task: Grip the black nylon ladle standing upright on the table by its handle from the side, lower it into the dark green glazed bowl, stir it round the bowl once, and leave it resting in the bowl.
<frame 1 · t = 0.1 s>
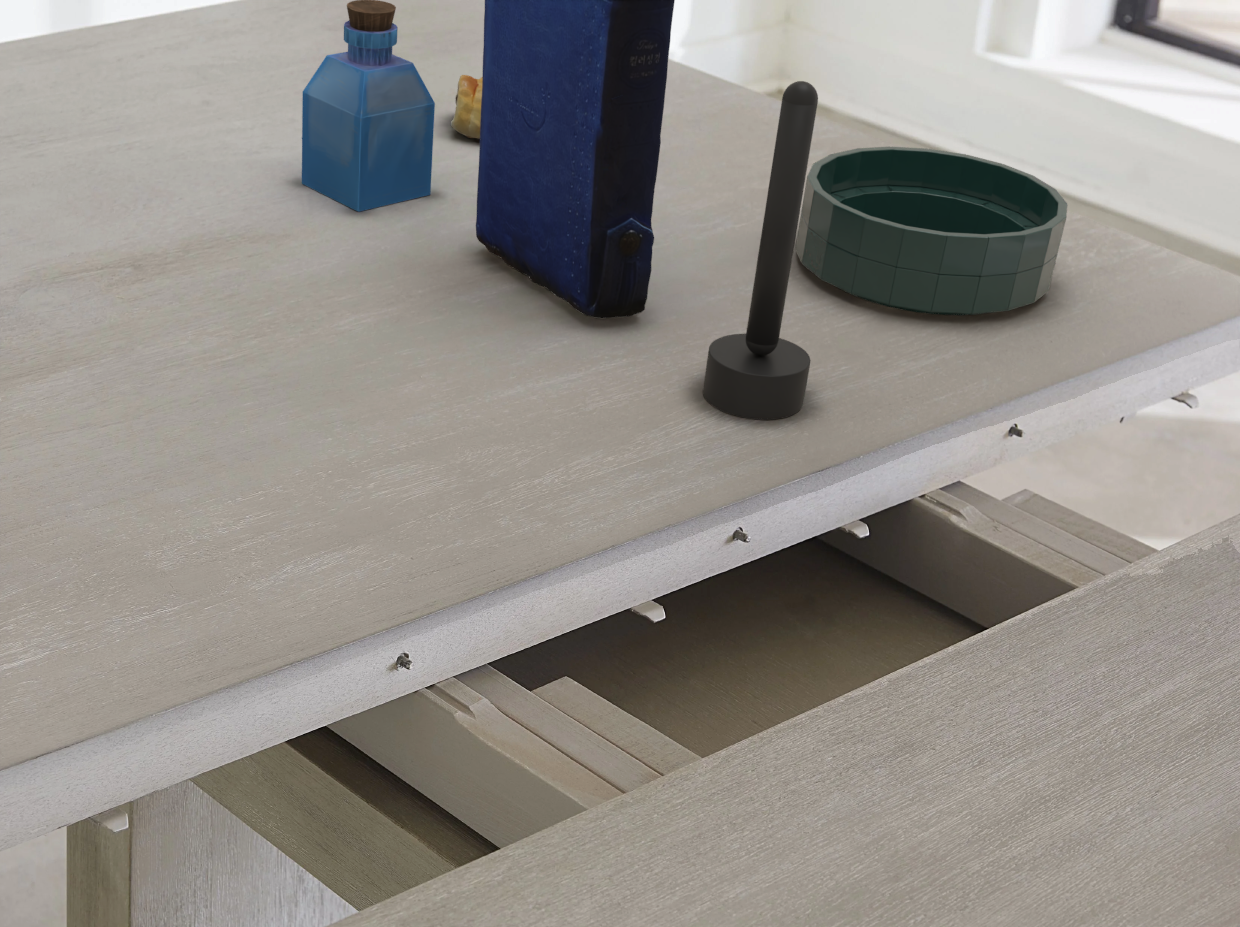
bowl: (920, 272, 123), on the table
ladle: (752, 397, 106), on the table
book: (556, 286, 117), on the table
pastry: (504, 133, 141), on the table
perfume bottle: (365, 191, 129), on the table
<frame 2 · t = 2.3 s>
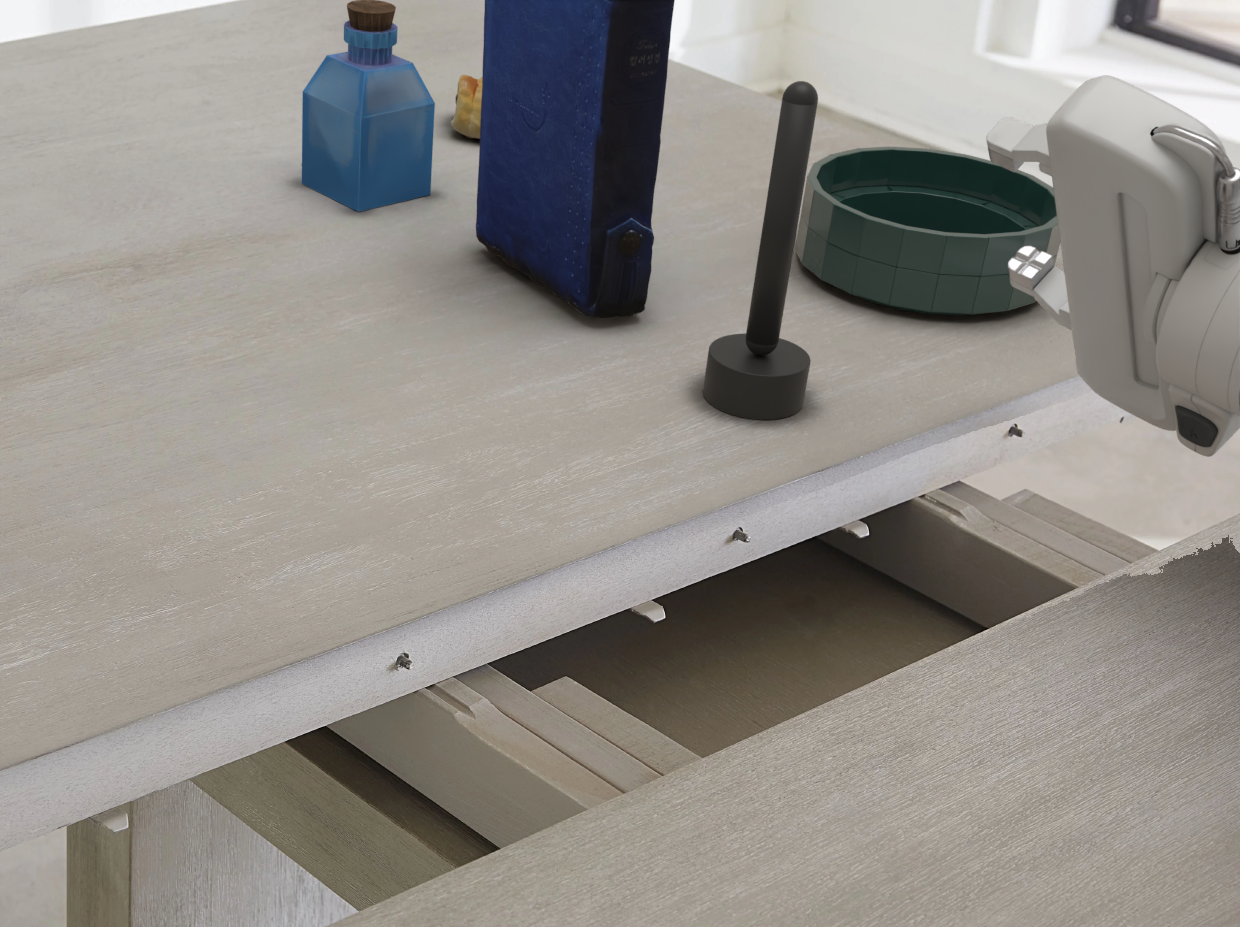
hand: (1005, 202, 97), 13 cm above the table, tool horizontal, fingers open, 8 cm apart
nothing on the table moved.
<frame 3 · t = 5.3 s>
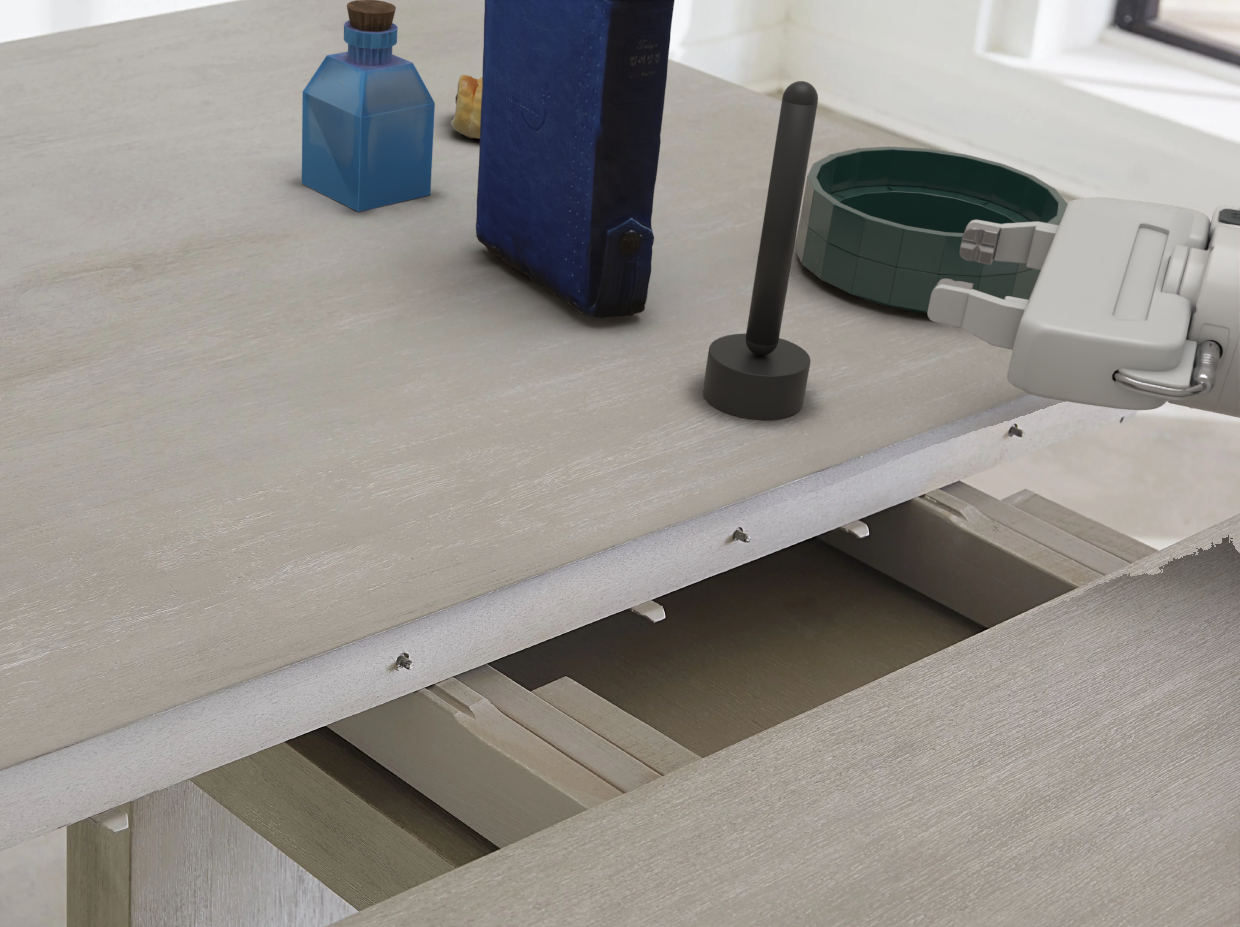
hand: (947, 267, 97), 10 cm above the table, tool horizontal, fingers open, 8 cm apart
nothing on the table moved.
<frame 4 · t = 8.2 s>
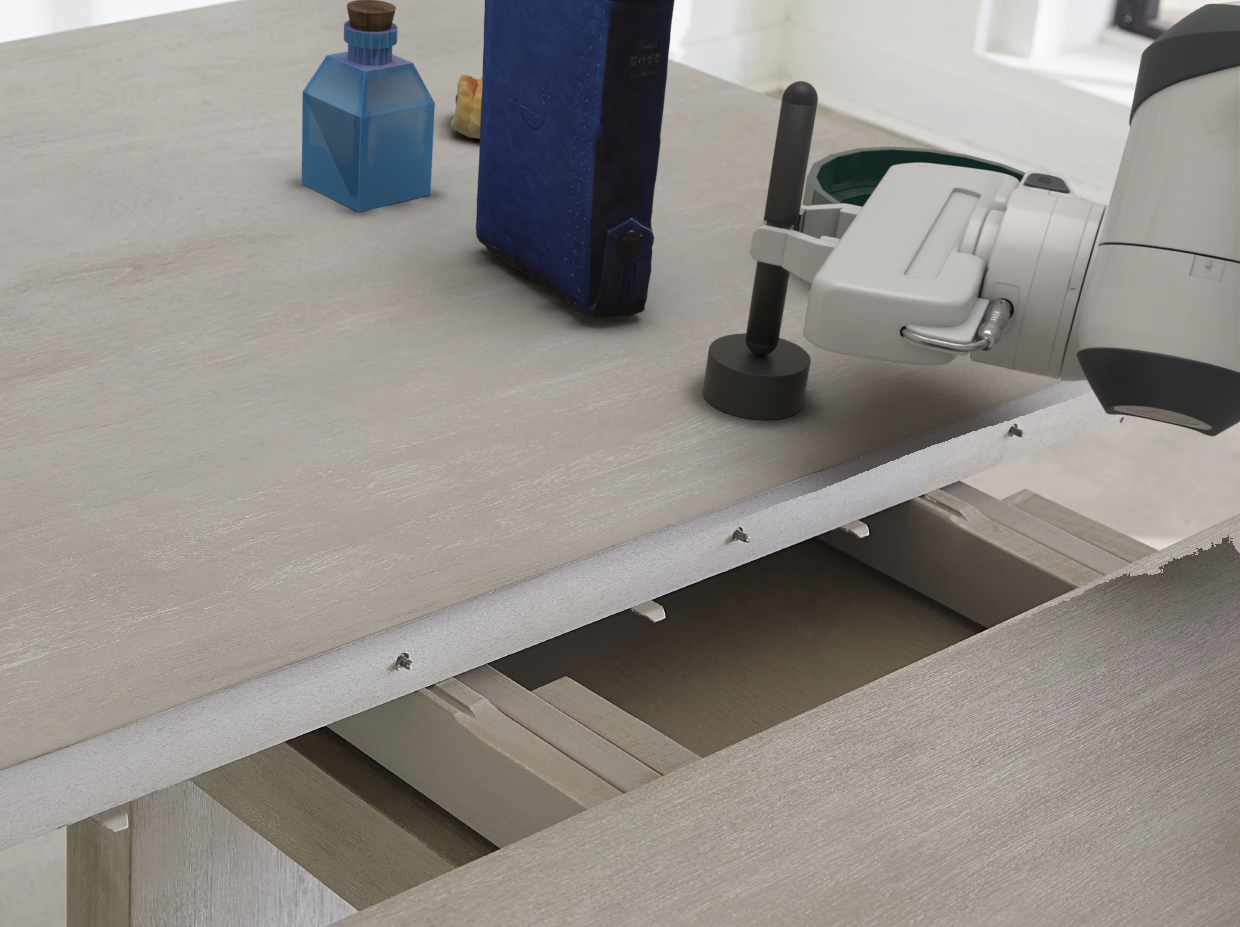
hand: (762, 229, 100), 10 cm above the table, tool horizontal, fingers closed on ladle
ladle: (752, 397, 106), on the table, touching gripper
everything else where it was.
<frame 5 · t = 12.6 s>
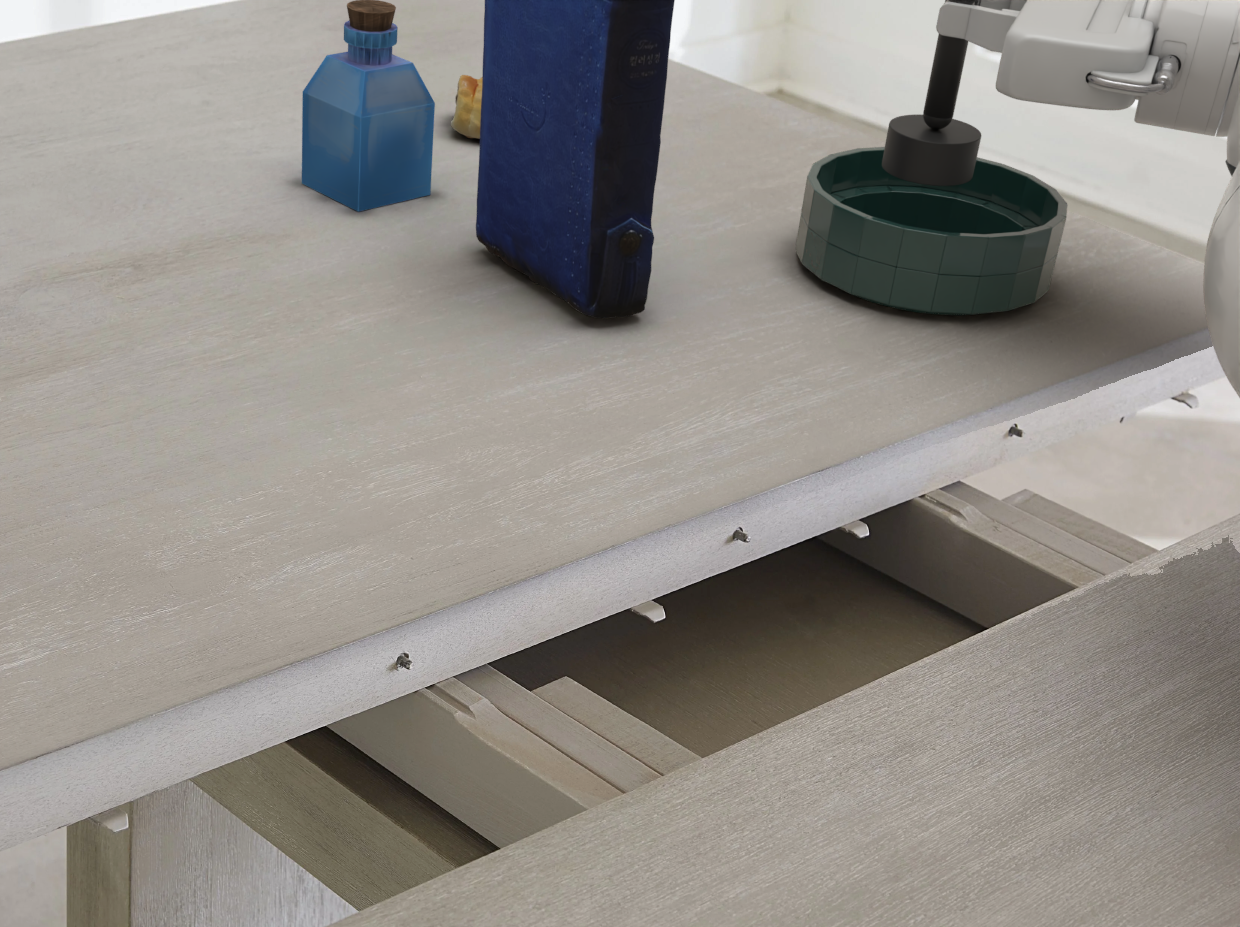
hand: (944, 9, 112), 17 cm above the table, tool horizontal, fingers closed on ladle
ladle: (926, 170, 117), point 7 cm above the table, touching gripper
everything else where it was.
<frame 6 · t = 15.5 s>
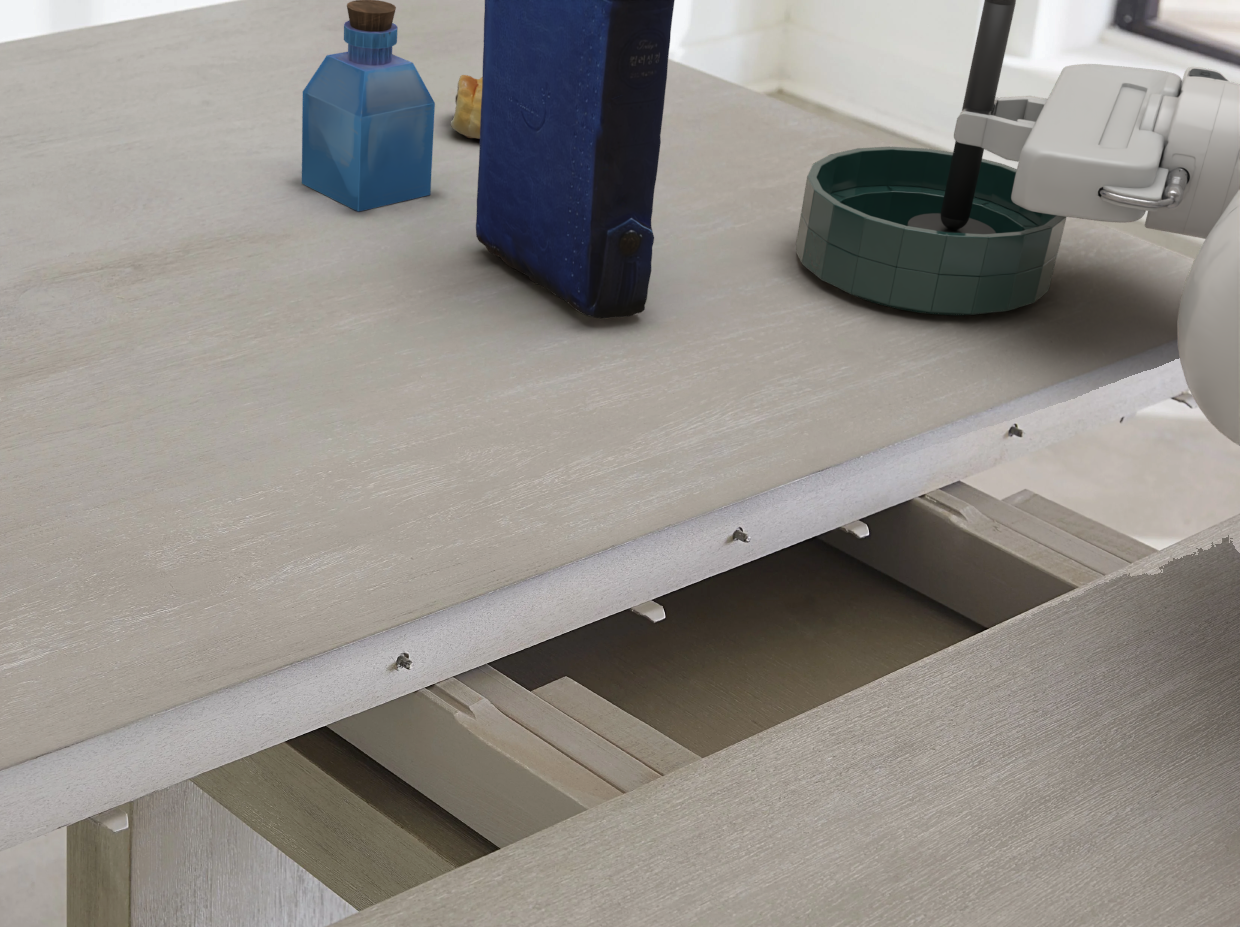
hand: (961, 116, 116), 10 cm above the table, tool horizontal, fingers closed on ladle
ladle: (943, 268, 121), point 1 cm above the table, touching gripper
everything else where it was.
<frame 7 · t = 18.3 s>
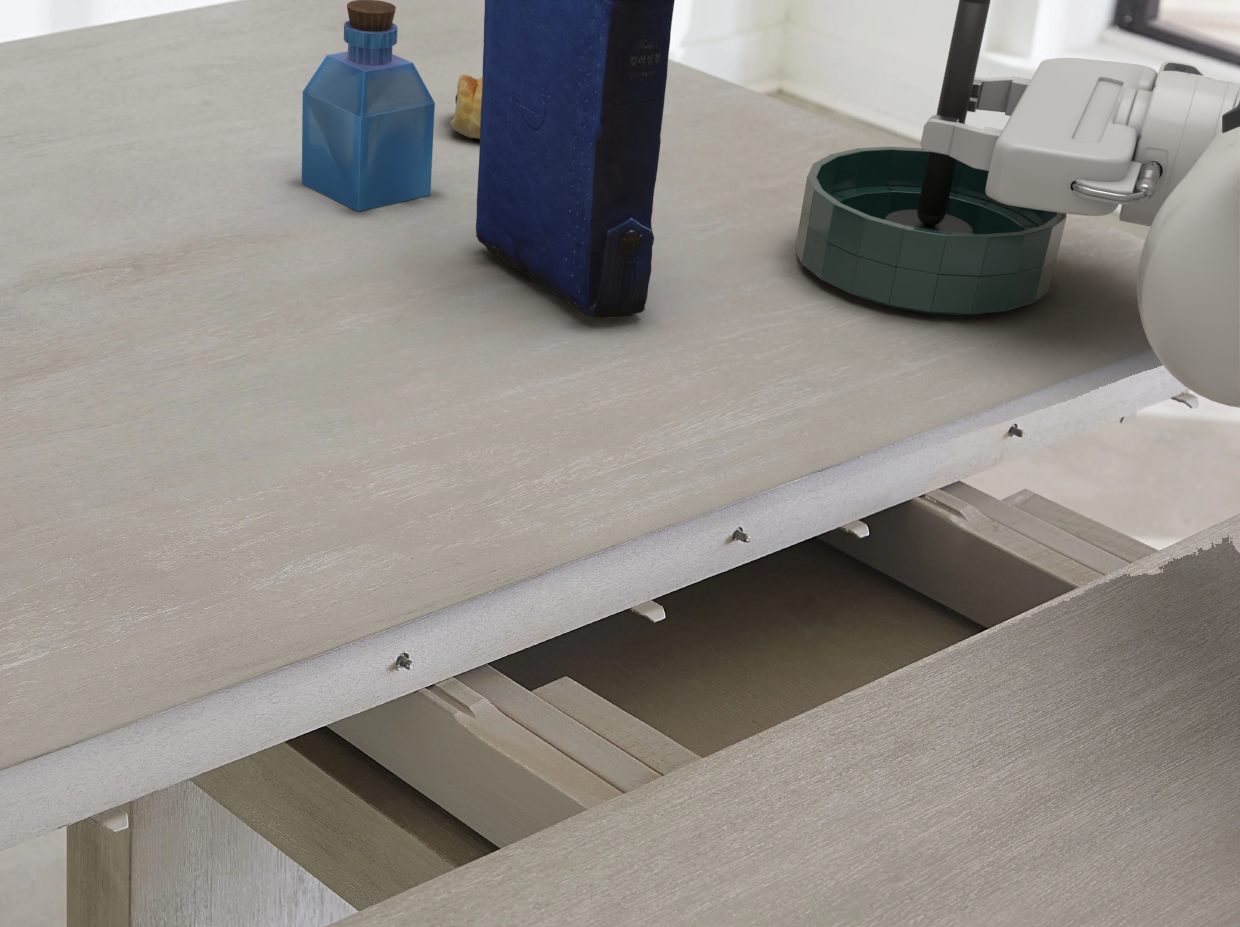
hand: (938, 110, 117), 10 cm above the table, tool horizontal, fingers open, 8 cm apart
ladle: (920, 263, 123), point 1 cm above the table, touching bowl
everything else where it was.
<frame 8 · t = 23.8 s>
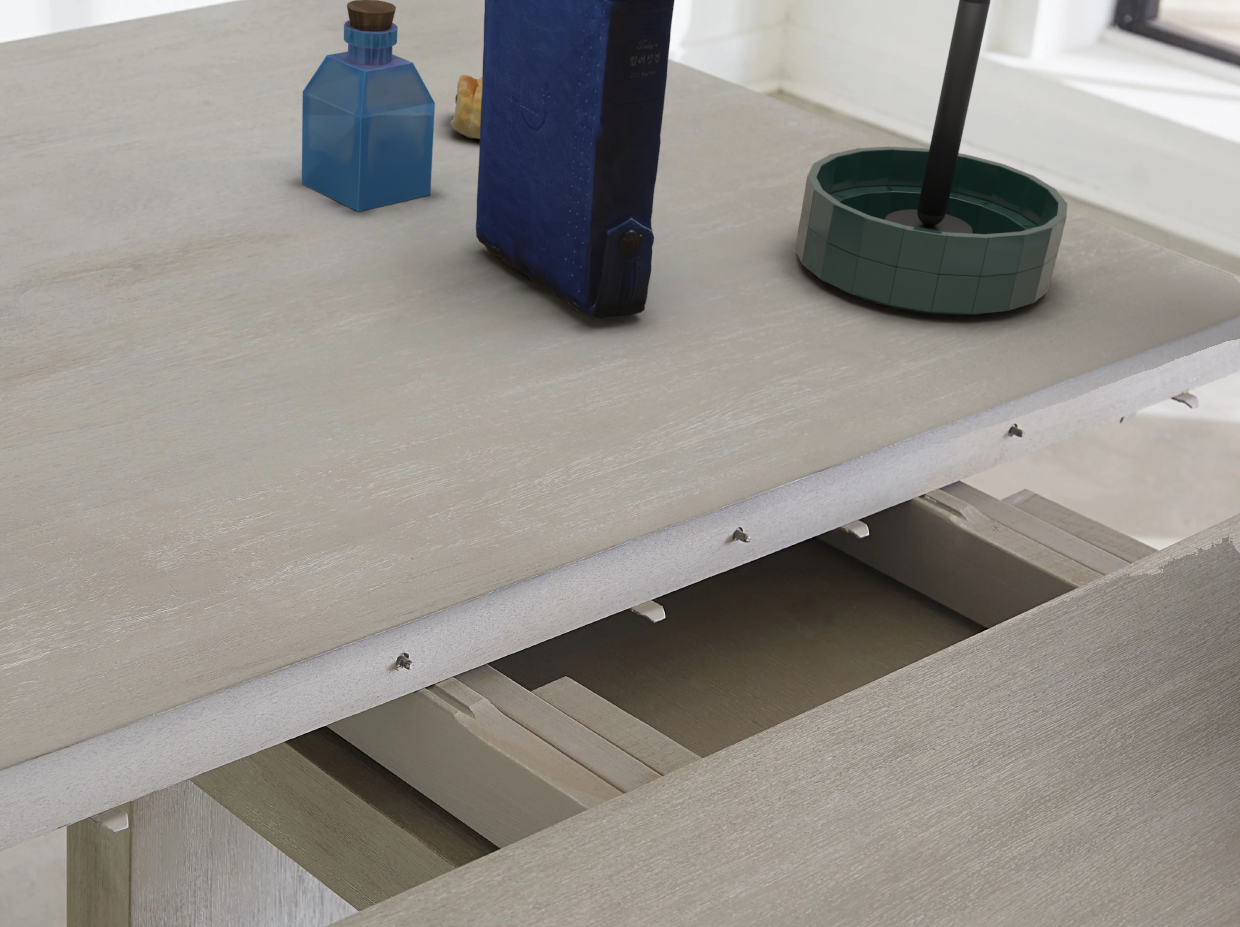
nothing on the table moved.
at the end: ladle inside the target area in the bowl (0.1 cm from its centre), point 0.6 cm above the bowl's base; the gripper is holding nothing; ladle moved 24.3 cm from its start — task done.
